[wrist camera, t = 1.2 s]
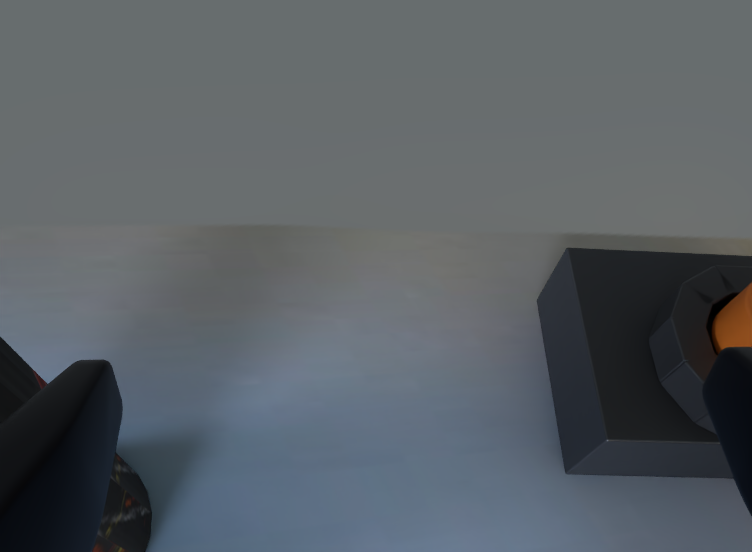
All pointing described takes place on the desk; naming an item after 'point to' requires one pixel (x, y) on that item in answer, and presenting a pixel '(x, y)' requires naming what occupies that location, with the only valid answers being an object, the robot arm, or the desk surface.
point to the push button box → (636, 358)
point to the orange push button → (734, 322)
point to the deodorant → (126, 491)
